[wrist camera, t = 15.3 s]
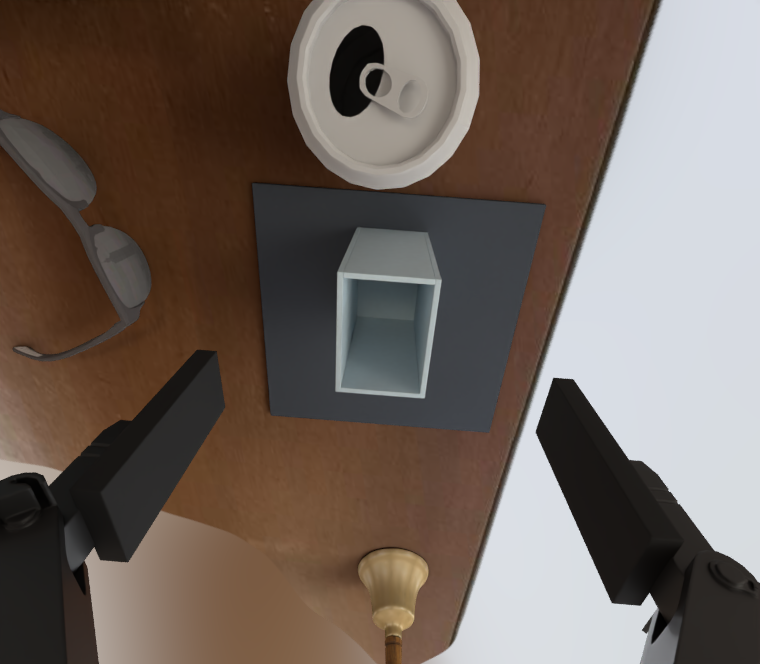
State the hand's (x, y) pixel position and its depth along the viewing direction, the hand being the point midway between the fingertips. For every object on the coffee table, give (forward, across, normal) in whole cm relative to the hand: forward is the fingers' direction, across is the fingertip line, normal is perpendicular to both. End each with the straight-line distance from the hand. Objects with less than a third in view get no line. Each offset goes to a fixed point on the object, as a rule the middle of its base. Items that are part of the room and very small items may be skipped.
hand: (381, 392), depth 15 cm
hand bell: (+15, +3, -37) cm, 40 cm away
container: (+15, 0, 0) cm, 15 cm away
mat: (+15, 0, -5) cm, 16 cm away
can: (+16, -1, +10) cm, 19 cm away
